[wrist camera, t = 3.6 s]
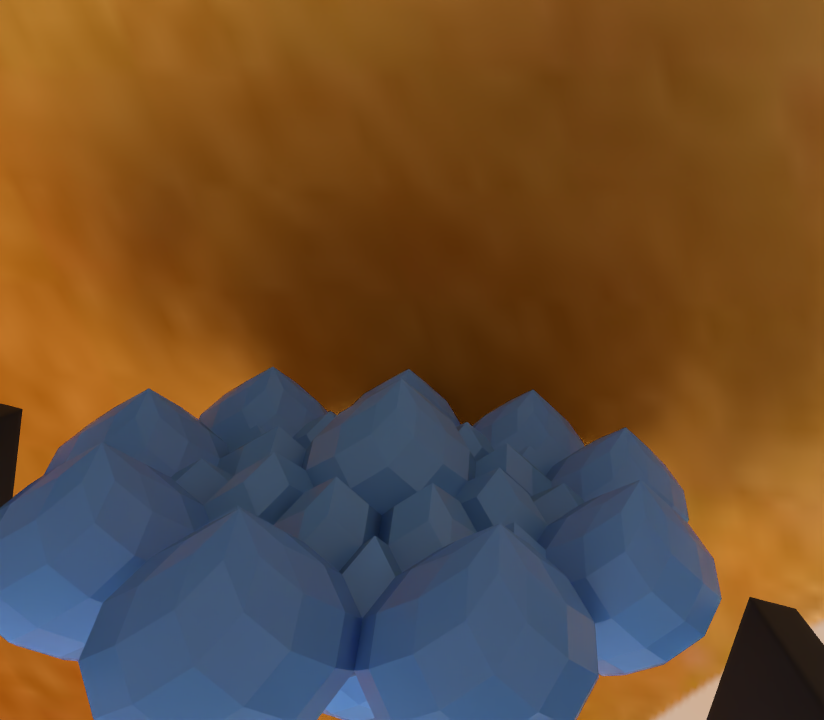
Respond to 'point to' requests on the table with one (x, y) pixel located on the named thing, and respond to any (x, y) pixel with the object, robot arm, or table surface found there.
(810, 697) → the robot arm
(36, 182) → the table surface
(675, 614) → the grapes
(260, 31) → the table surface
